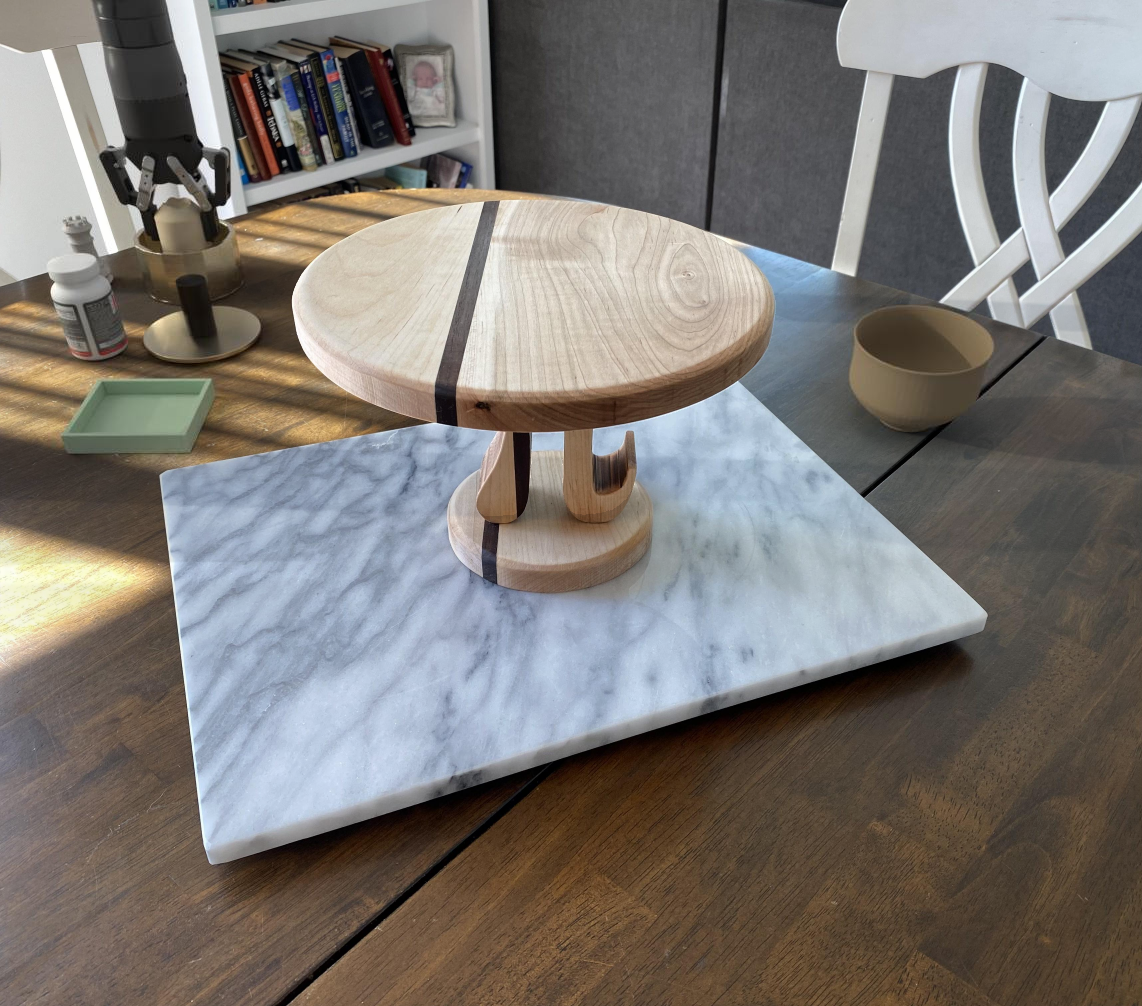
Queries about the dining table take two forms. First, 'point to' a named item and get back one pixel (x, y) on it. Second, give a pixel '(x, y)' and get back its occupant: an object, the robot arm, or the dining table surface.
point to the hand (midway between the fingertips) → (185, 238)
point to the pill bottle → (86, 307)
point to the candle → (180, 226)
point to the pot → (191, 266)
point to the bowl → (918, 365)
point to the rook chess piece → (84, 241)
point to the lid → (200, 327)
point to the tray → (140, 416)
